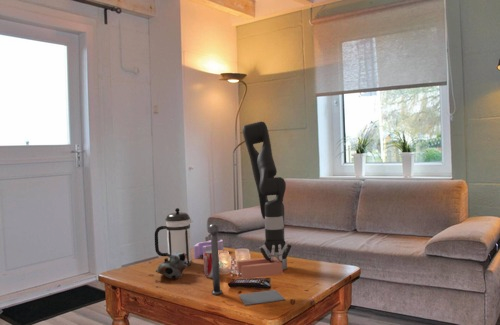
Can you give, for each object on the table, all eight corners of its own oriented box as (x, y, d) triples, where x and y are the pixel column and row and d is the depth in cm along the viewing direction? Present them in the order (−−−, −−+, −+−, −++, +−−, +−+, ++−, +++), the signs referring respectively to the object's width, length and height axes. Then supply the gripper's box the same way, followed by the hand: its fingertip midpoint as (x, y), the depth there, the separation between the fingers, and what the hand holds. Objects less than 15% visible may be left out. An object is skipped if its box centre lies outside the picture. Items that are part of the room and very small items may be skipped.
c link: (275, 267, 181) (274, 256, 180) (282, 274, 171) (282, 262, 171) (237, 271, 177) (237, 260, 177) (242, 278, 167) (242, 267, 167)
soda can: (217, 278, 202) (216, 253, 202) (202, 278, 204) (201, 253, 203) (221, 274, 209) (220, 249, 209) (207, 273, 211) (206, 249, 210)
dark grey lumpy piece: (161, 272, 216) (174, 246, 219) (183, 282, 214) (195, 256, 216) (151, 272, 202) (164, 244, 204) (173, 283, 199) (186, 255, 202)
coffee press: (181, 258, 242) (178, 205, 241) (200, 263, 231) (197, 207, 230) (155, 266, 230) (152, 209, 229) (173, 271, 219) (170, 211, 218)
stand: (221, 291, 185) (217, 222, 183) (223, 294, 180) (219, 224, 179) (210, 292, 183) (207, 223, 182) (212, 295, 179) (209, 225, 178)
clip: (211, 250, 261) (210, 238, 260) (228, 251, 254) (227, 240, 254) (190, 258, 243) (189, 245, 243) (208, 260, 237) (207, 247, 237)
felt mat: (275, 290, 182) (275, 289, 182) (285, 300, 170) (284, 299, 170) (238, 295, 178) (238, 294, 178) (245, 305, 166) (245, 304, 166)
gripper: (287, 224, 180) (289, 265, 181) (255, 227, 177) (257, 269, 177) (293, 227, 173) (295, 270, 173) (260, 230, 169) (262, 274, 170)
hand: (276, 269), depth 175 cm, fingers closed on c link, 2 cm apart
